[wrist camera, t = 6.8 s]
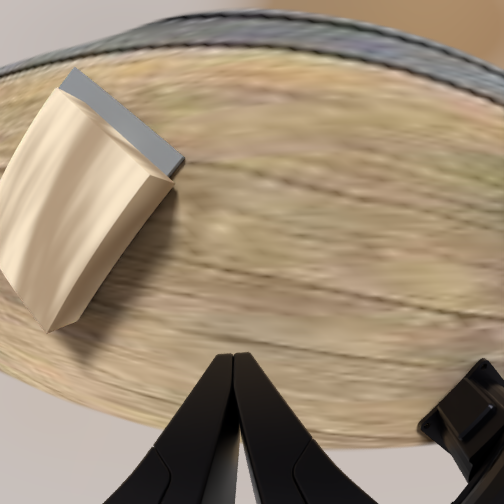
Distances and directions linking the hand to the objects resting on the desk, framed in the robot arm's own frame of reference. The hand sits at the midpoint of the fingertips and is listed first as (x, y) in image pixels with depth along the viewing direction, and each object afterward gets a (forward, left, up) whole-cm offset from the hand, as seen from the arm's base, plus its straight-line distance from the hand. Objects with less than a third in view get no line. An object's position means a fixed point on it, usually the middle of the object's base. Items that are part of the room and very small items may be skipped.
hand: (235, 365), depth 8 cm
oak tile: (+8, +5, -9) cm, 13 cm away
